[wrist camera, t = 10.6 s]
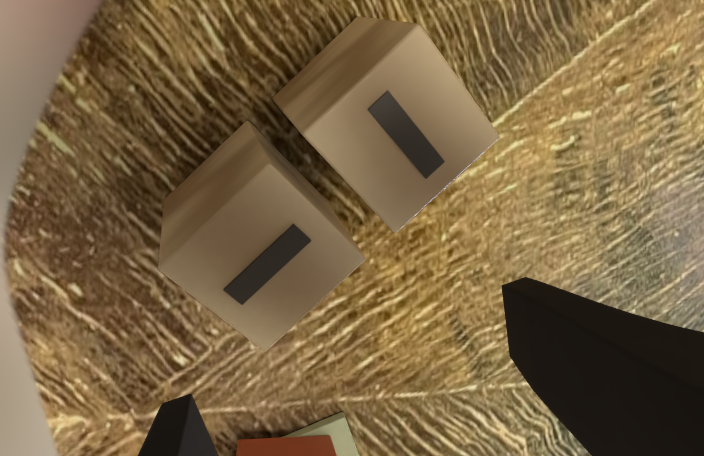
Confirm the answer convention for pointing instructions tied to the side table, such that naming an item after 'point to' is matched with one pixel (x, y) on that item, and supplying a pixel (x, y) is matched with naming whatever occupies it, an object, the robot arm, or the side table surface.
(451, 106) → the tan rectangular block
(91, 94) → the side table surface
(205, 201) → the beige dark-barred block
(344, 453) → the word mat
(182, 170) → the side table surface
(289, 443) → the red slotted block
